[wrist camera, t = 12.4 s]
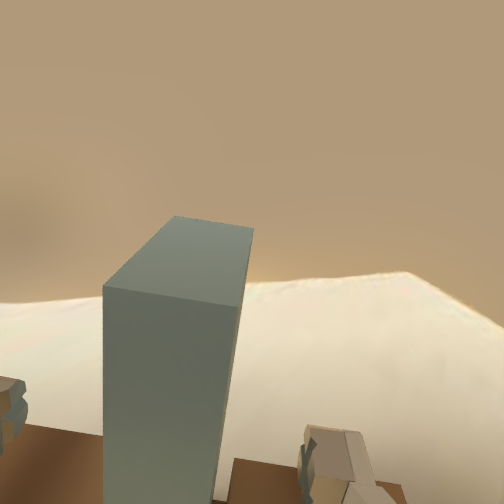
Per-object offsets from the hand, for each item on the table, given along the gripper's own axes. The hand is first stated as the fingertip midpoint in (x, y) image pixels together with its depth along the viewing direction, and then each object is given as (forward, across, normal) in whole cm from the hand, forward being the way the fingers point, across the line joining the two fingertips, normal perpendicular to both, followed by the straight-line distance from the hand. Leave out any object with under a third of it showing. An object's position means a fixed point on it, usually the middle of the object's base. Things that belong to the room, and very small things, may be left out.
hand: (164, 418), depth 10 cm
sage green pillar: (+2, 0, +10) cm, 10 cm away
